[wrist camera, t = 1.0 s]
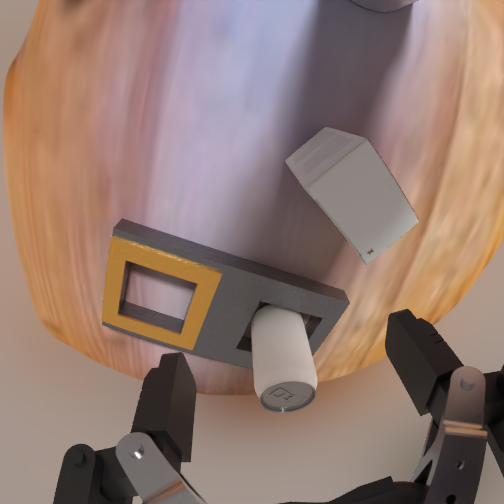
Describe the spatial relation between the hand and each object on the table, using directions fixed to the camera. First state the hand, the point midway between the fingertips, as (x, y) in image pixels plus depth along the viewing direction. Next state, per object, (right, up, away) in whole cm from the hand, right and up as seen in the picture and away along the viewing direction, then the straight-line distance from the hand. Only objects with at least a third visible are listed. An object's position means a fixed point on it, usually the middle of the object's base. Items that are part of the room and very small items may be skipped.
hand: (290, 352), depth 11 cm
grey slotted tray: (-5, -3, +25) cm, 25 cm away
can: (+2, -5, +26) cm, 27 cm away
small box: (+6, +12, +18) cm, 22 cm away
